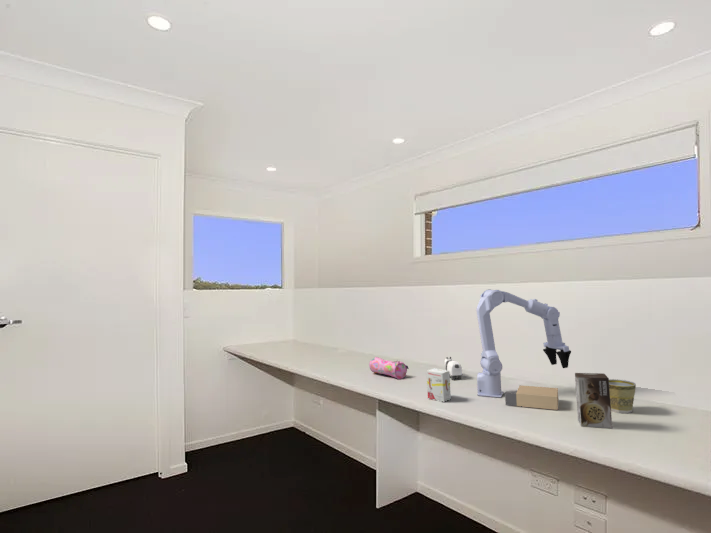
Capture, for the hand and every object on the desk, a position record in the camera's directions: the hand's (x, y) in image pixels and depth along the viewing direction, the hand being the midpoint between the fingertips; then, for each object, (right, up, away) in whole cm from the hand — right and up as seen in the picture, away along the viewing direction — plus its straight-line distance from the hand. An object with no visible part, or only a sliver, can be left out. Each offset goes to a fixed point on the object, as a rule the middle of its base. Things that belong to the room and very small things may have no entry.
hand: (559, 366), depth 177 cm
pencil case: (-69, -15, +40) cm, 82 cm away
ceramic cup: (+10, -10, -27) cm, 30 cm away
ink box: (-52, -13, -5) cm, 54 cm away
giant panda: (-38, -13, +31) cm, 51 cm away
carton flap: (-21, -10, -21) cm, 31 cm away
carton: (-16, -11, -16) cm, 25 cm away
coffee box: (-8, -10, -40) cm, 42 cm away
